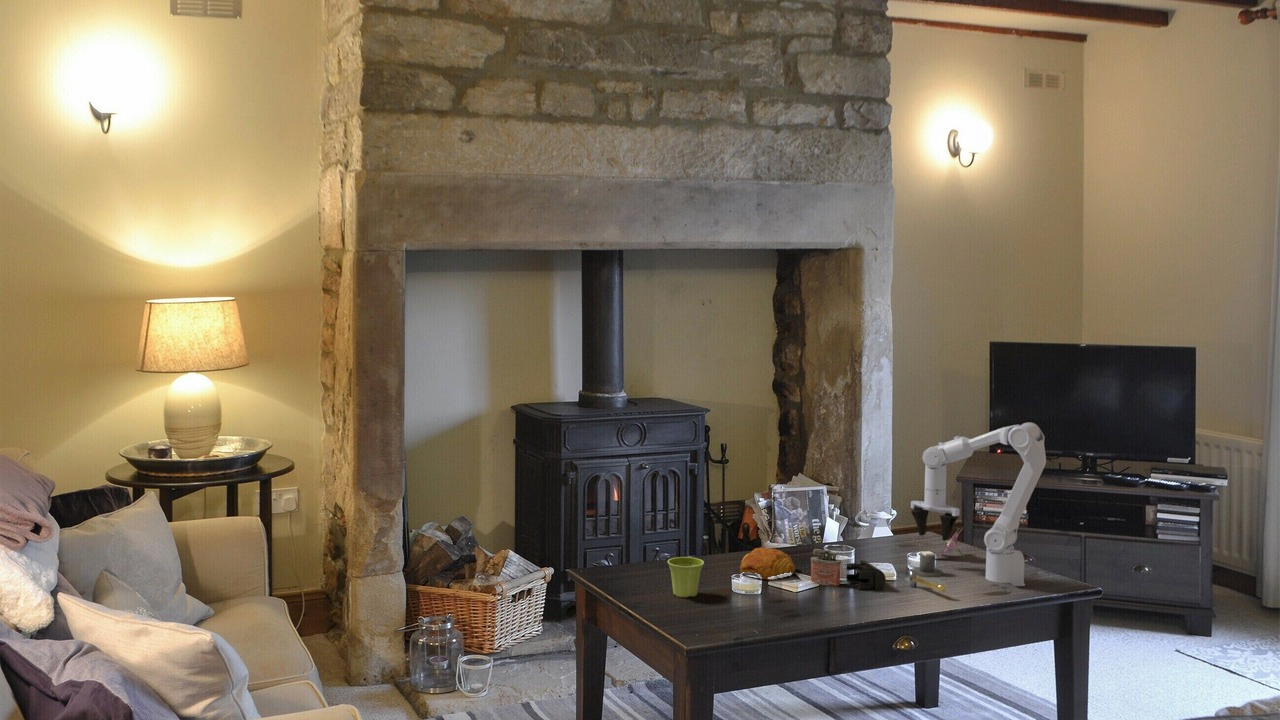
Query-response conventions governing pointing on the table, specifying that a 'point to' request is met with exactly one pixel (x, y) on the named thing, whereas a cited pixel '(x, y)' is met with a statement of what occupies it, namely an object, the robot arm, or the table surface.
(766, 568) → the croissant
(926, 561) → the plug
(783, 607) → the table surface
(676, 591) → the plant pot
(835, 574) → the lighter
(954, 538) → the lily
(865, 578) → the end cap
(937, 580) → the panel
